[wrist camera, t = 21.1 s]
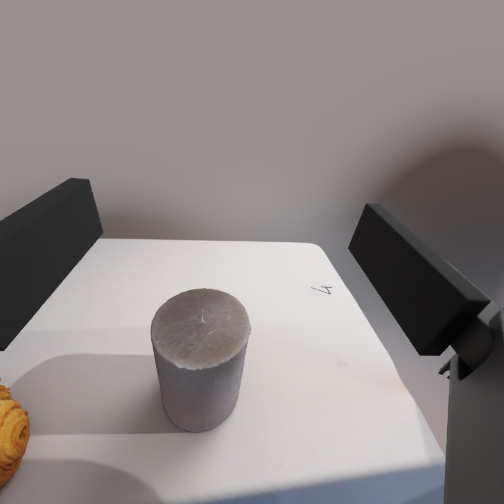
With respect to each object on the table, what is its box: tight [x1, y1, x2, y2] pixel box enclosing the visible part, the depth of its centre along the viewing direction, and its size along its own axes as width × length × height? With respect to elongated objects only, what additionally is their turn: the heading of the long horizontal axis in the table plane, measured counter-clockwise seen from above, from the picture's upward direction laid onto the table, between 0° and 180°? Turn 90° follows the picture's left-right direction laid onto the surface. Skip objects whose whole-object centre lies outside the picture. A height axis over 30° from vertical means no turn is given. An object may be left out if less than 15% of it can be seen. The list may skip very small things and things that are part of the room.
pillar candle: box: [151, 288, 251, 432], centre depth 28 cm, size 10×10×15 cm
